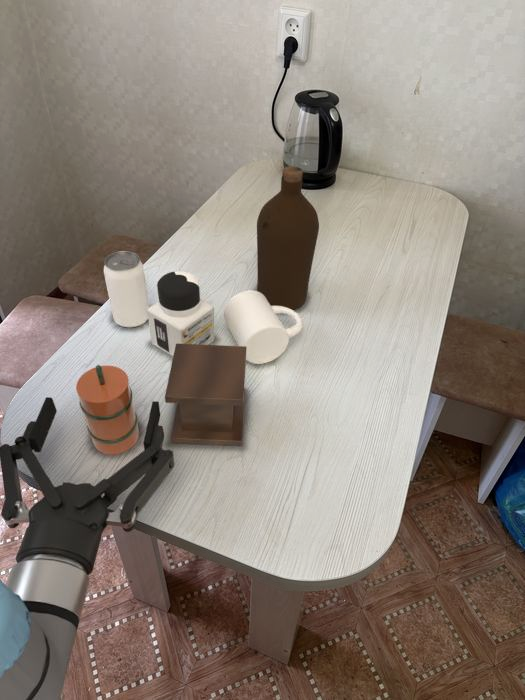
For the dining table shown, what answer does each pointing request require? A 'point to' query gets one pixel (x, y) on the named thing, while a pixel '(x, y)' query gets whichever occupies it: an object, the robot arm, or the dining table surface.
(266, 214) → the olive oil
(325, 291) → the dining table surface
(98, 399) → the banded candle
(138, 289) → the can
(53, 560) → the robot arm
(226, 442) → the stand
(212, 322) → the container
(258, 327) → the mug
